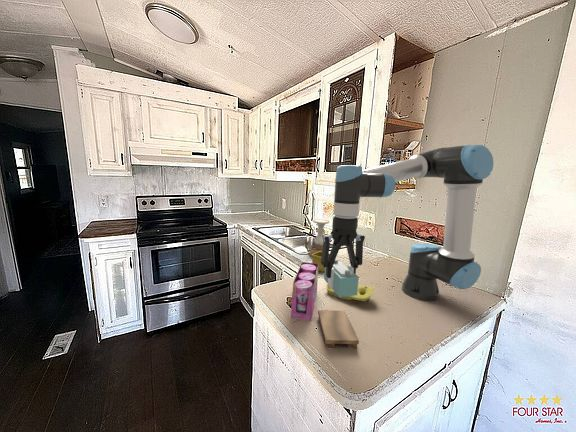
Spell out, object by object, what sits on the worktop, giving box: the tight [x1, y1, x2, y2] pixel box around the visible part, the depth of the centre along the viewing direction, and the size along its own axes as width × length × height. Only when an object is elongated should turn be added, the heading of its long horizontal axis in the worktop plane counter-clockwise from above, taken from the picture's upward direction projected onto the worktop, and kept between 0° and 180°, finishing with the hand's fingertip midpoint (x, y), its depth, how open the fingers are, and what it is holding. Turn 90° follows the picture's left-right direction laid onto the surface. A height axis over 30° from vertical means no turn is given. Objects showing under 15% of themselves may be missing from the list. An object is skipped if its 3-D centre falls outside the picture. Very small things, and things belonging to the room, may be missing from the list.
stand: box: [317, 309, 360, 350], centre depth 80 cm, size 10×16×3 cm, turn 2°
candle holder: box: [307, 218, 330, 259], centre depth 151 cm, size 11×11×24 cm
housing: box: [323, 259, 360, 298], centre depth 77 cm, size 12×6×7 cm, turn 13°
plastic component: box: [326, 283, 376, 303], centre depth 105 cm, size 20×7×10 cm
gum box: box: [290, 261, 319, 322], centre depth 96 cm, size 24×8×14 cm, turn 168°
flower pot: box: [311, 251, 330, 273], centre depth 132 cm, size 9×9×9 cm
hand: (339, 285), depth 77 cm, fingers closed on housing, 6 cm apart
